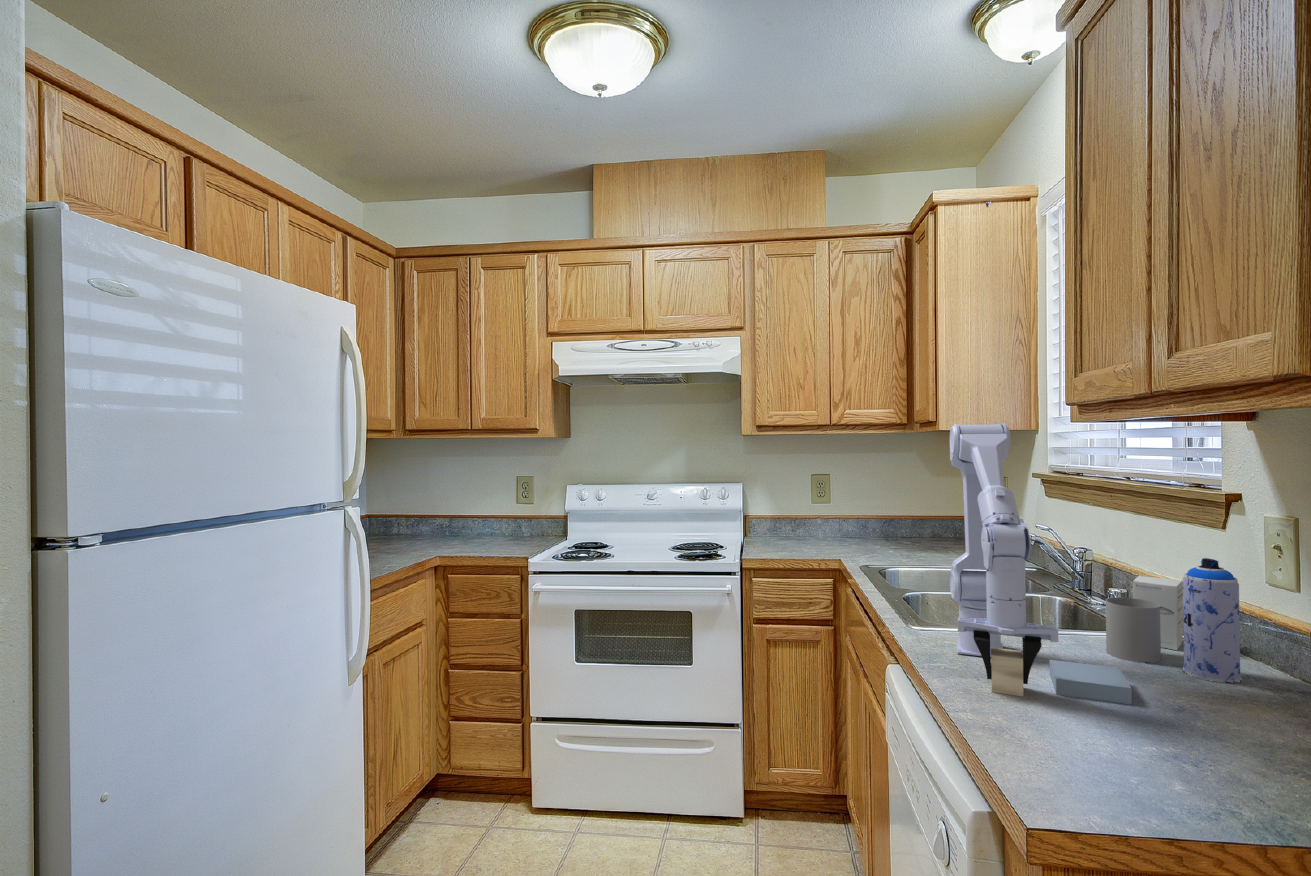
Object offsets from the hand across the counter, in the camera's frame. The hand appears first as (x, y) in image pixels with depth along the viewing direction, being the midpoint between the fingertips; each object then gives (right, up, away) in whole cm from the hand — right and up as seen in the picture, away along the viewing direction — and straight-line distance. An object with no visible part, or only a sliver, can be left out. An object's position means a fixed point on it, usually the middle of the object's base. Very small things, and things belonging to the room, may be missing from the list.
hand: (1006, 679), depth 109 cm
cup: (+32, -2, +16) cm, 36 cm away
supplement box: (+43, -2, +24) cm, 49 cm away
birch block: (0, -2, 0) cm, 2 cm away
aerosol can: (+38, -2, +6) cm, 39 cm away
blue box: (+13, -2, 0) cm, 14 cm away
